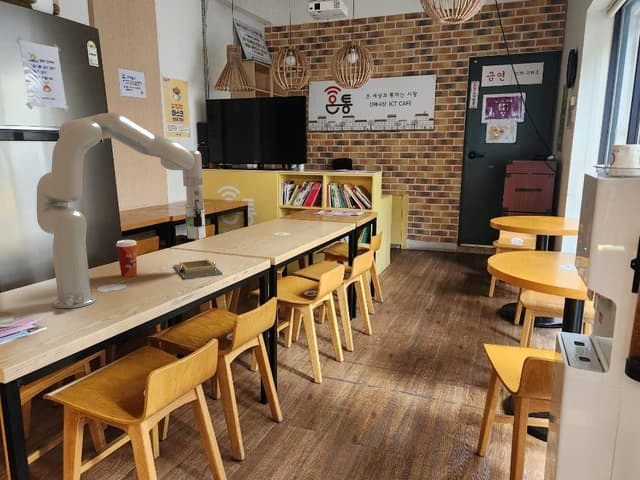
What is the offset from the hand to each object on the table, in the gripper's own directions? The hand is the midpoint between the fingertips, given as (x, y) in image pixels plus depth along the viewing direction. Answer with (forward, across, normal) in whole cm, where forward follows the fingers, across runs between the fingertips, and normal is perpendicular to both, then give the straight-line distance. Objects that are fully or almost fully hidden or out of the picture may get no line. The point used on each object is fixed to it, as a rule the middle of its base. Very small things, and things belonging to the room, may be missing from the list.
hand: (195, 224), depth 186 cm
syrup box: (+6, 0, 0) cm, 6 cm away
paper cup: (+19, +5, +26) cm, 33 cm away
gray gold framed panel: (+19, 0, 0) cm, 19 cm away
